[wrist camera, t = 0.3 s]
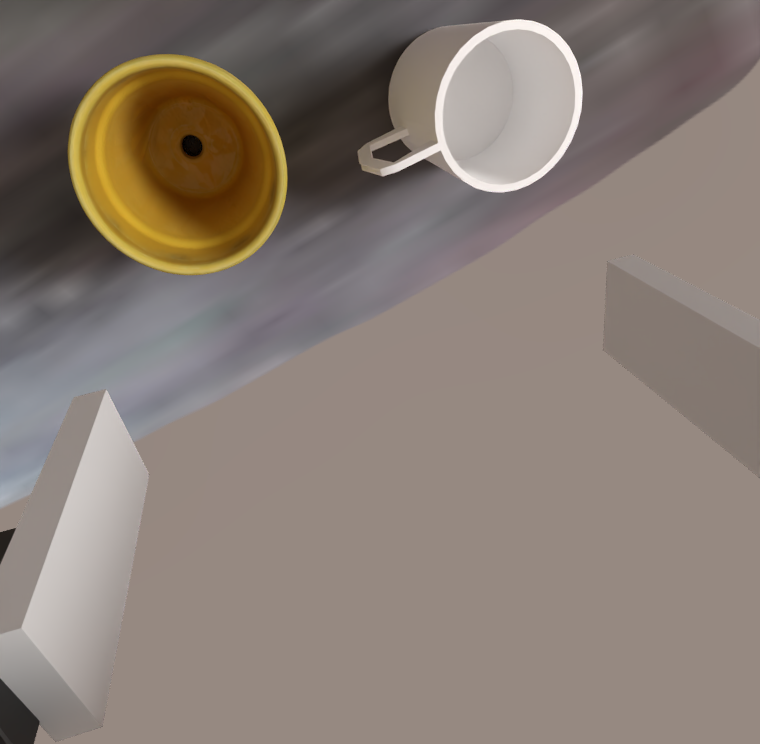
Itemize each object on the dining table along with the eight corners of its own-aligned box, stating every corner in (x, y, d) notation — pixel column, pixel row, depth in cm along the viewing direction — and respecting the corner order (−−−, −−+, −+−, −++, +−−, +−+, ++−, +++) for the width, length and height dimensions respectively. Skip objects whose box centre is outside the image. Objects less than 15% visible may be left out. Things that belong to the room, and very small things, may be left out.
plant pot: (64, 124, 34) (12, 149, 26) (199, 13, 33) (189, 1, 25) (188, 257, 39) (177, 313, 31) (307, 165, 38) (329, 198, 30)
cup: (315, 87, 36) (341, 99, 28) (485, 2, 36) (564, -12, 27) (365, 205, 40) (401, 247, 32) (517, 130, 40) (595, 152, 32)
